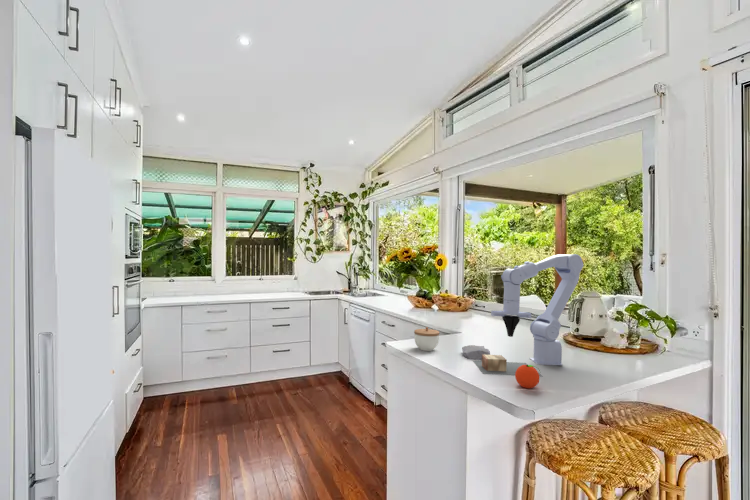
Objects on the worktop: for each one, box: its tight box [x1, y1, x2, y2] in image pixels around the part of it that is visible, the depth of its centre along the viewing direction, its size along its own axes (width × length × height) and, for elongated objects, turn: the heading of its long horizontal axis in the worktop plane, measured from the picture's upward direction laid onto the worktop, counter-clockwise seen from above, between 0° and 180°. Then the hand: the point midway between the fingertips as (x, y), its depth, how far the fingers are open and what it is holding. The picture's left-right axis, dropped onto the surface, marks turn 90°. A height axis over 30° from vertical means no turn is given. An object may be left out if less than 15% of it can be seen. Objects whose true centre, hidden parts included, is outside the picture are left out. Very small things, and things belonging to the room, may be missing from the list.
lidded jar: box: [413, 326, 440, 352], centre depth 157 cm, size 11×11×9 cm
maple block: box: [481, 354, 508, 371], centre depth 131 cm, size 4×6×7 cm
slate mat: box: [472, 360, 544, 378], centre depth 132 cm, size 20×16×1 cm
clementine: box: [514, 364, 541, 389], centre depth 113 cm, size 8×7×7 cm
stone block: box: [461, 344, 491, 360], centre depth 148 cm, size 12×5×10 cm
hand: (510, 336), depth 139 cm, fingers closed
